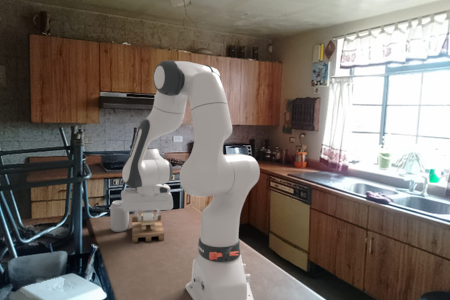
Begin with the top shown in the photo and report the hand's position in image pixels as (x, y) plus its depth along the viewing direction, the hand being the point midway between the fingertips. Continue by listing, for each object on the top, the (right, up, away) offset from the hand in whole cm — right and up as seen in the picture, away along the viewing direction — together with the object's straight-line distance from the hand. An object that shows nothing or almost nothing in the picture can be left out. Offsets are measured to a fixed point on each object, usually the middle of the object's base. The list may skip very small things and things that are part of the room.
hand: (147, 220), depth 135 cm
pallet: (0, -2, 0) cm, 2 cm away
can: (-13, -5, +4) cm, 14 cm away
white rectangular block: (0, +1, 0) cm, 1 cm away
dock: (0, -5, +1) cm, 6 cm away
